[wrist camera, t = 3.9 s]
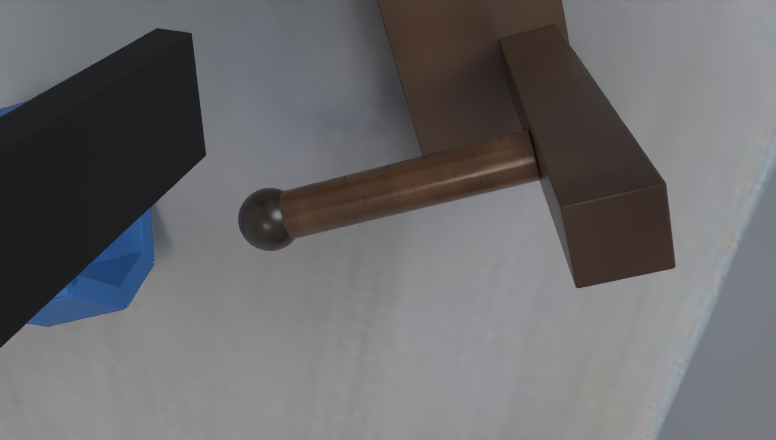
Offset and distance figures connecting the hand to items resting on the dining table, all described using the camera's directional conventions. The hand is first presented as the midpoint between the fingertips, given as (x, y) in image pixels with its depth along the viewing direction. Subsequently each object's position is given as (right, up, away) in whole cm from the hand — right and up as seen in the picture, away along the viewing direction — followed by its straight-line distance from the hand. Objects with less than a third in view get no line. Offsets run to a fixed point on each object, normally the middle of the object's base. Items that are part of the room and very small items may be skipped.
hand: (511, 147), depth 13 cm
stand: (0, +6, +26) cm, 27 cm away
